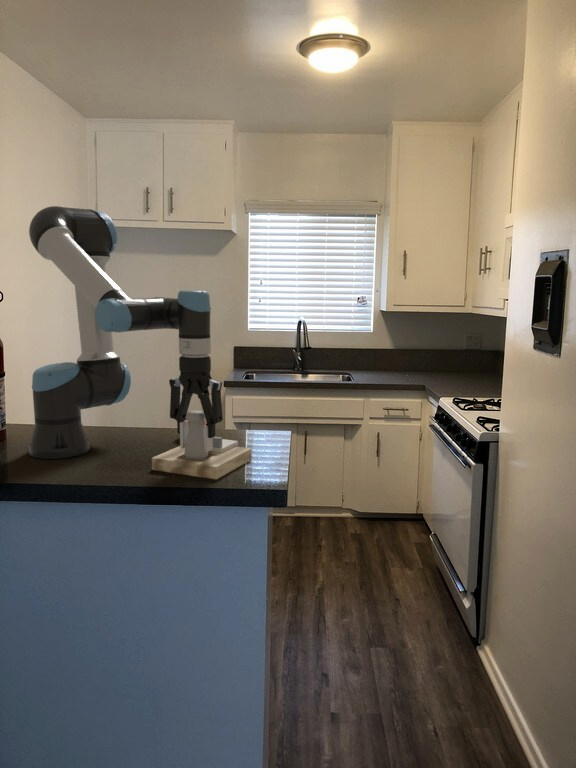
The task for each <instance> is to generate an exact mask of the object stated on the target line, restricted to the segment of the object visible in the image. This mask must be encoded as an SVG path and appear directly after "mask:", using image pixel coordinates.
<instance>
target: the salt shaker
mask: <svg viewBox="0 0 576 768" xmlns="http://www.w3.org/2000/svg"><path fill="white" fill-rule="evenodd" d="M187 420H188V421H189V422H190V424H189V430H188V435H187V441H186V447H185V452H184V455H185V457H186V459H187V460H193V461H200V462H202V461H205V460H206V459H207V456H208V452H204V428H203V423H202V421H203V420H206V419H205V415H204V412H203V410H198V409H197V410H191V411H187Z"/></svg>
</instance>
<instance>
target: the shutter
mask: <svg viewBox="0 0 576 768" xmlns="http://www.w3.org/2000/svg"><path fill="white" fill-rule="evenodd" d="M238 445H239V441H238V440H231V439H225V438H223V437H222V436H215V437H213V449H212V450H210V451H213V452H220V453H222V452H224V451H226V450H229V449H231V448H233V447H235V446H236V447H238Z"/></svg>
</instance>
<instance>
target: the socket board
mask: <svg viewBox="0 0 576 768" xmlns="http://www.w3.org/2000/svg"><path fill="white" fill-rule="evenodd" d="M184 452H185V448H183V449H182V448H180V445H179V446H177V447H174V448H171V449H169V450H167V451H165V452H163V453H160V454H158V455H155V456H153V457H151V470H152V471H158V472H163V473H164V472H165V473H172V474H177V475H185V476H191V477H199V478H204V479H205V478H206V479H210V480H211V479H212V480H218V479H220V478H221V477H224V476H225V475H227V474H229V473H230V472H232V471H234V470H235V469H237V468H239V467H241V466H243V465H245V464H247V463H248V462H249V461H252V448H250V447H242V446H235V447H233V448H231V449H229V450H226V451H224V452H222V453H220V452H213V451H208V456H207V459H206V460H205V461H202V462H200V461H193V460H187V459H186V457H185V455H184Z"/></svg>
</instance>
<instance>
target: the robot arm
mask: <svg viewBox="0 0 576 768" xmlns="http://www.w3.org/2000/svg"><path fill="white" fill-rule="evenodd" d="M28 229H29V230H28V233H29V234H28V235H29V240H30V242H31V244H32V246H33V247H34V249H35V250H36V252H37V253H38V254H39V255H40V256H41V257H42V258H43V259H45V260H47V261H51V262H52V263H53V265H55V266H56V267H57V268H58V270H60V272H61V273H62V274H63V275H64V276H65V277H66V278H67V279H68V280H69V281H70V282H71V284H72V285H73V286H74V291H75V299H76V300H75V301H76V302H75V303H76V309H77V310H76V311H77V322H78V330H79V340H80V341H79V342H80V347H81V348H80V349H81V350H80V351H81V354H80V355H79V356H78V358H77V359H76V362H71V361H70V362H68V361H67V362H66V361H65V362H60V363H59V362H55V363H52V364H47V365H43V366H41V367H39V368H37V369H35V370H34V372H33V373H32V381H31V389H32V400H33V413H34V414H33V415H34V428H33V431H32V435H31V442H29V445H28V449H29V450H28V451H29V456H31V457H32V458H36V459H44V460H56V459H57V460H58V459H67V458H74V457H76V456H77V457H78V456H81V455H84V454H86V453H87V452H89V451H90V440H89V438H88V437H87V435H86V432H85V429H84V426H83V423H82V411H81V410H86V409H91V408H96V407H98V408H99V407H102V406H103V407H104V406H111V405H114V404H118V403H120V402H122V401H124V400H125V398H126V397H127V396H128V394H129V392H130V389H131V385H132V383H131V381H132V377H131V373H130V370H129V369H128V367H127V365H126V364H125V363H124V362H121V357H120V355H118V354H117V353H116V352H115V351H114V344H113V333H124V332H125V333H126V332H135V331H136V332H137V331H147V330H149V331H150V330H161V329H162V330H165V329H166V330H167V329H169V330H178V353H179V354H180V357H179V358H178V361H179V363H178V366H179V367H178V368H179V369H178V370H179V372H180V374H179V376H178V377H174V378H171V379H169V381H168V384H169V387H170V398H169V399H170V401H169V402H170V403H169V418H170V419H171V420H172V419H173V420H175V421H176V427H177V435H179V443H180V444H179V446H180V448H182V449H183V448H185V447H186V441H187V435H188V430H189V426H188V421H187V420H185V419H187V418H186V415H187V413H188V412H189V411H188V410H189V408H190V403H191V400H192V396H193V395H194V394H195V395H196V396H197V397H198V399H199V401H200V404H201V407H202V412H203V413H204V415H205V419H204V420H205V425H204V452H208V451H210V450H212V449H213V437H216V424H218V423H221V422H223V418H224V417H223V407H222V405H223V404H222V394H221V393H222V391H221V390H222V387H223V382H222V381H221V380H219V381H216V380H214V379H212V376H211V371H212V362H211V361H212V360H211V358H212V357H211V356H210V354H211V352H212V349H211V347H212V346H211V341H212V340H211V309H212V308H211V307H212V306H211V300H210V299H211V298H210V294H209V292H208V291H207V290H189V289H188V290H179V291H178V293H177V298H175V297H163V296H160V297H158V296H155V297H151V298H150V297H149V298H148V297H147V298H140V297H139V298H131V297H130V296H129V295H128V294H127V293H126V292H125V291H124V290H123V289H122V288H121V287H120V286H119V285H118V284H117V283H116V282H115V281H114V280H113V278H111V277H110V276H109V275H108V274H107V272H106V271H107V269H106V264H107V263H108V262H109V261H110V260H111V253H113V252H114V251H115V249H116V244H118V233H117V229H116V225H115V223H114V221H113V220H112V218H111V217H110V216H109V215H108V214H106V213H105V212H103V211H98V210H94V209H91V208H89V209H88V208H77V207H65V206H59V205H55V206H54V205H52V206H48V207H44V208H43V209H41V210H39V211H38V212H36V214H35V215H34V216H33V217H32V219H31V220H30V224H29V228H28ZM181 386H182V387H183V388H182V391H181ZM209 388H210V389H209ZM209 390H211V392H210V391H209ZM210 395H211V399H210ZM184 420H185V421H184Z"/></svg>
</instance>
